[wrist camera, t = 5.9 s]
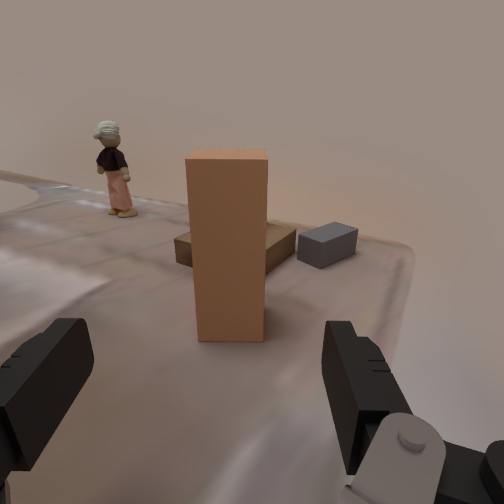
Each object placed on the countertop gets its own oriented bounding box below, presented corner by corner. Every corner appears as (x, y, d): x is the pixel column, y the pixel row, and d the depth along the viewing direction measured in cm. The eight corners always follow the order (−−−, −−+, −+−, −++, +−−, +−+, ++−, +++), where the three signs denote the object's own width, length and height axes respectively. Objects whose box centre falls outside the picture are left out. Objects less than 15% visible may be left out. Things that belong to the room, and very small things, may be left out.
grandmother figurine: (150, 213, 49) (138, 120, 44) (129, 220, 46) (115, 121, 41) (113, 206, 52) (99, 119, 47) (92, 212, 49) (74, 120, 44)
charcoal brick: (296, 261, 35) (298, 234, 34) (332, 246, 38) (334, 221, 37) (319, 271, 33) (322, 242, 31) (354, 254, 36) (358, 228, 35)
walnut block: (176, 265, 34) (174, 238, 33) (227, 238, 41) (227, 215, 40) (251, 289, 30) (251, 259, 28) (294, 254, 37) (296, 229, 35)
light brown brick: (198, 341, 22) (185, 158, 18) (206, 305, 27) (198, 148, 22) (263, 342, 22) (268, 159, 18) (262, 306, 26) (265, 149, 22)
